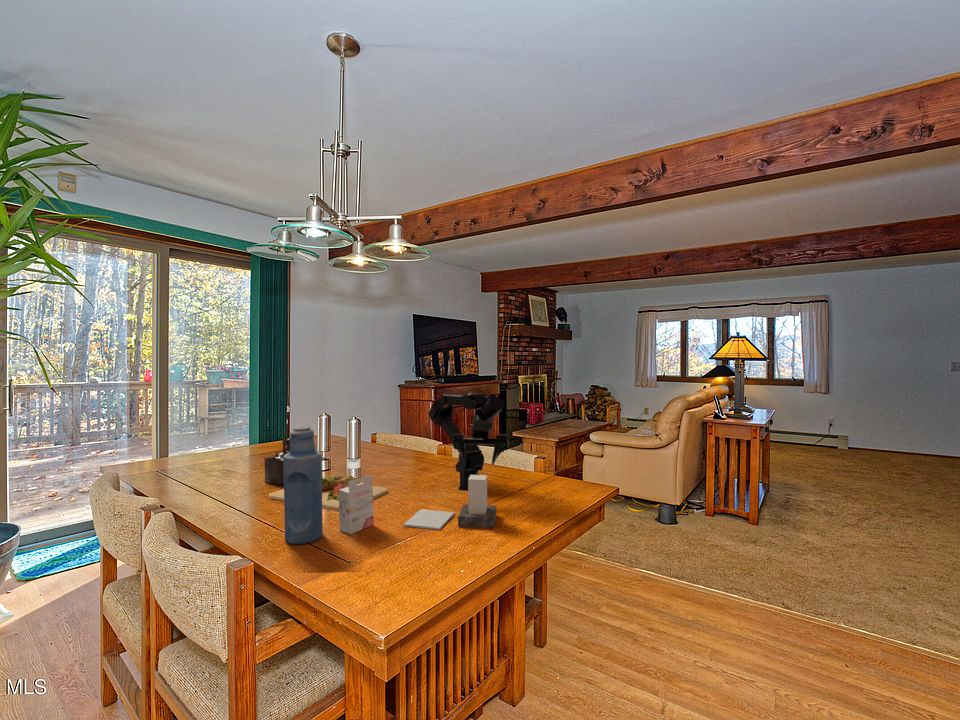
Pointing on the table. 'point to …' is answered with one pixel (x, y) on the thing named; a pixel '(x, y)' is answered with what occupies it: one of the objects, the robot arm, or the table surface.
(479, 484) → the off-white block
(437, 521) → the rubber mat
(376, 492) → the cutting board
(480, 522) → the block
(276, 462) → the black box
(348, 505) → the ink cartridge box
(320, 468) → the bottle
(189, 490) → the table surface
